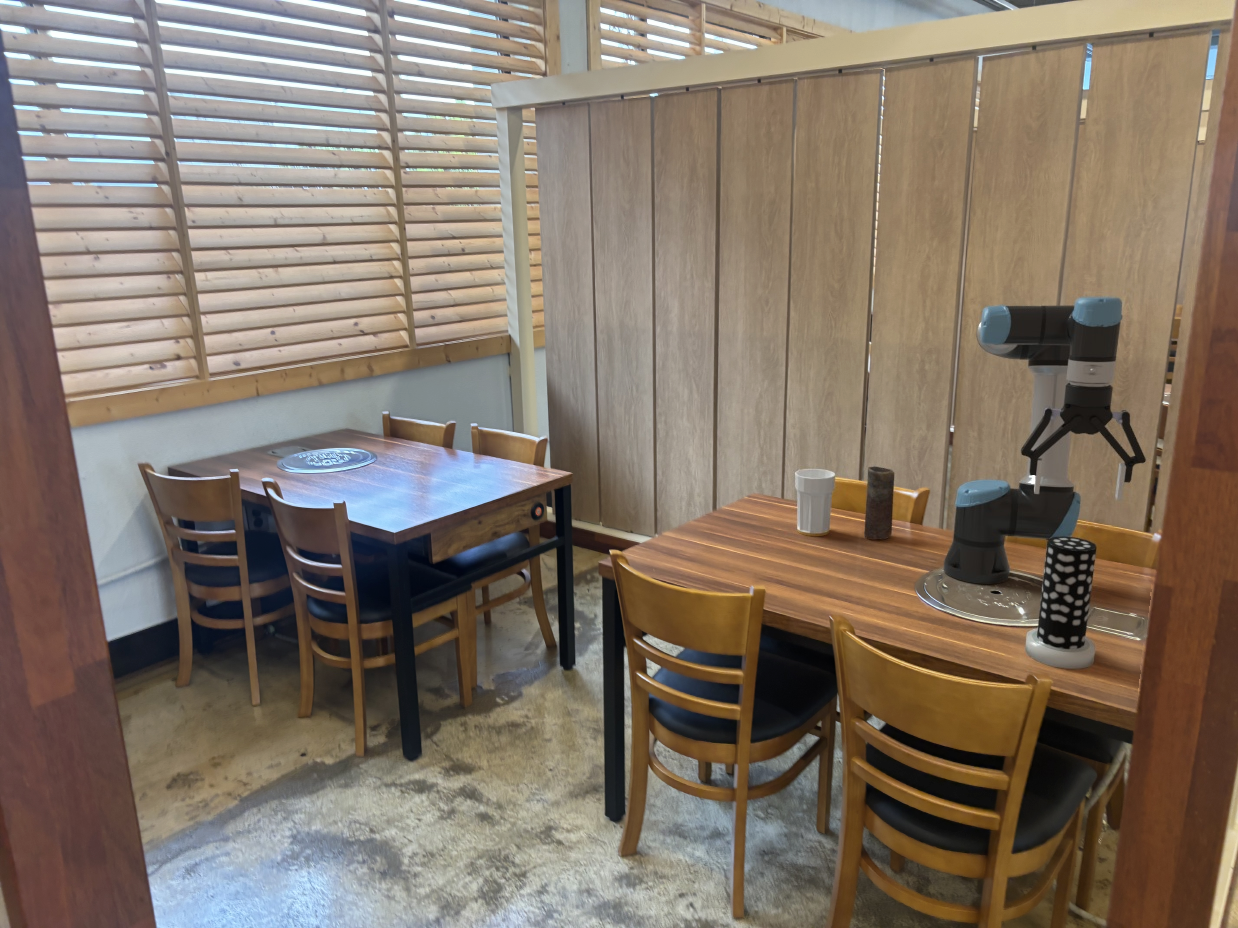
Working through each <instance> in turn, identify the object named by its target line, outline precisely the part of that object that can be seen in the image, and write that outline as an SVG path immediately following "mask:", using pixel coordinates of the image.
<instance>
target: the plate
mask: <svg viewBox="0 0 1238 928" xmlns="http://www.w3.org/2000/svg"><path fill="white" fill-rule="evenodd" d="M1037 630H1038V627H1037V628H1033V629H1030V630H1029V631H1027V633H1026V638H1025V649H1024V651H1025V653H1026V654H1027V655H1028V656H1029V657H1030V658H1031V659H1033V660H1034V661H1036V662H1039V663H1041V664H1044V665H1046V666H1050V667H1055V668H1059V669H1067V670H1068V669H1069V670H1079V669H1085V668H1086V669H1087V668H1089V667H1091V666H1093V664H1094V662H1095V661H1094V660H1095V656H1096V644H1095V643H1094V641H1093V640H1092V639H1090V637H1087V636H1086V637H1085V644H1084V646H1083V647H1081V648H1078V649H1062V648H1057V647H1053V646H1050V645H1047V644H1045V643H1043V642H1041V641H1040V640H1039V639H1038V638H1037Z"/></svg>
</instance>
